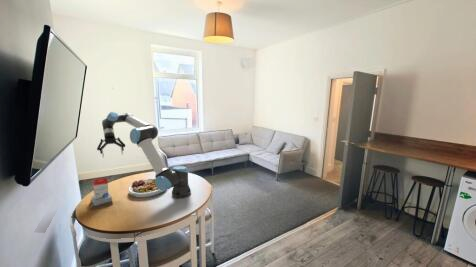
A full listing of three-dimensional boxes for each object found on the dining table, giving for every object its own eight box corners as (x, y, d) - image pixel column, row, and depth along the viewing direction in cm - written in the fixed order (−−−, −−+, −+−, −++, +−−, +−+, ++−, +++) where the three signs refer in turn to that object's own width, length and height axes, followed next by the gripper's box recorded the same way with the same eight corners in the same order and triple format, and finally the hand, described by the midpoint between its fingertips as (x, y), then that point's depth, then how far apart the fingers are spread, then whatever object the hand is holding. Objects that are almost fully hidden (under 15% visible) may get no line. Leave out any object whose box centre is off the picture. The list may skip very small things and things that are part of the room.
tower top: (112, 200, 152) (111, 196, 152) (94, 206, 145) (93, 202, 144) (108, 195, 160) (108, 192, 160) (91, 200, 153) (91, 196, 152)
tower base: (112, 205, 152) (112, 201, 151) (91, 211, 144) (91, 207, 143) (111, 198, 162) (110, 194, 161) (91, 203, 154) (90, 199, 154)
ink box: (107, 194, 157) (106, 175, 155) (108, 196, 153) (107, 177, 151) (93, 197, 151) (92, 178, 149) (94, 199, 147) (93, 180, 145)
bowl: (173, 184, 188) (172, 176, 186) (156, 200, 158) (156, 190, 157) (142, 182, 191) (141, 174, 190) (121, 198, 162) (120, 188, 160)
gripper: (125, 135, 187) (129, 155, 177) (92, 138, 172) (95, 160, 163) (125, 130, 181) (130, 150, 172) (91, 133, 167) (94, 155, 158)
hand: (113, 155), depth 167 cm, fingers open, 13 cm apart
